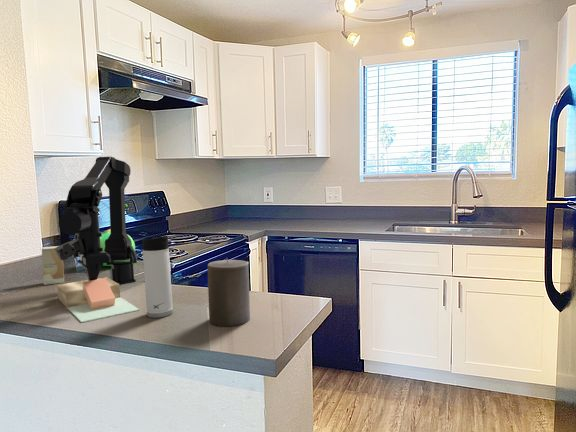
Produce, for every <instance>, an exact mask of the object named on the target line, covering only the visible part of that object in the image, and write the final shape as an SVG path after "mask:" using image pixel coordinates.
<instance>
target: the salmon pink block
mask: <svg viewBox="0 0 576 432" xmlns="http://www.w3.org/2000/svg"><path fill="white" fill-rule="evenodd" d="M102 278H103V277H102ZM83 291H84V294H85V296H86V299H87V301H88V304H89V306H90V308H91V310H93V309H98V308H103V307H108V306H113V305H115V296H114V294H113V292H112V290H111V288H110V286H109V284H108V282H107V280H106V278H103V279H97V280H91V281H85V282H83Z"/></svg>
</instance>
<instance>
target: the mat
mask: <svg viewBox="0 0 576 432" xmlns="http://www.w3.org/2000/svg"><path fill="white" fill-rule="evenodd" d="M67 310H69V312H70V313H71V314H72V315H74V317H75V318H76V319H77V320H78V321H79V322H80V323H81V324H82V323H86V322H92V321H97V320H101V319H102V320H103V319H107V318H110V317H115V316H120V315H124V314H129V313H134V312H138V311H140V308H138V307H136V306H135V305H134V304H132V303H130V302H129V301H127V300H126V299H124V298H122V297H121V296H120V298H115V305H113V306H108V307H103V308H98V309H93V310H91V308H90V306H89V304H83V305H78V306H73V307H68V308H67Z"/></svg>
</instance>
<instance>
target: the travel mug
mask: <svg viewBox="0 0 576 432" xmlns="http://www.w3.org/2000/svg"><path fill="white" fill-rule="evenodd" d="M141 241H142V243H141V244H142V257H143V259H142V260H143V274H144V288H145V290H144V291H145V303H146V304H145V305H146V316H147V317H148V318H153V319H154V318H155V319H159V318H165V317H169V316H171V315H172V314H173V312H174V310H173V295H172V279H171V277H172V276H171V262H170V259H171V258H170V247H169V236H168V235H161V236H157V237H151V238H150V239H148V238H147V239H146V238H145V239H142V240H141Z"/></svg>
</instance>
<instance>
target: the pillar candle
mask: <svg viewBox="0 0 576 432" xmlns="http://www.w3.org/2000/svg"><path fill="white" fill-rule="evenodd" d="M249 277H250V273H249V261H245V260H241V259H240V260H239V259H228V257H226V259H223V260H215V261H211V262H209V263H208V264H207V294H208V316H209V323H210V324H211V325H213V326H218V327H224V328H225V327H236V326H239V325H243V324H246V323H248V322H249V321H250V320H251V306H250V302H251V301H250V278H249Z"/></svg>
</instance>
